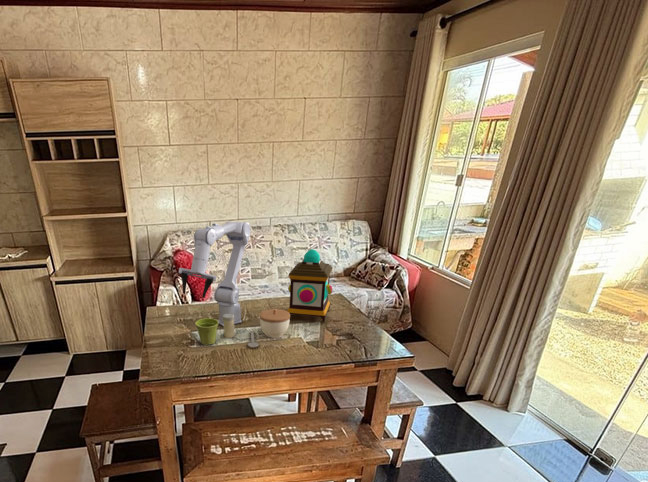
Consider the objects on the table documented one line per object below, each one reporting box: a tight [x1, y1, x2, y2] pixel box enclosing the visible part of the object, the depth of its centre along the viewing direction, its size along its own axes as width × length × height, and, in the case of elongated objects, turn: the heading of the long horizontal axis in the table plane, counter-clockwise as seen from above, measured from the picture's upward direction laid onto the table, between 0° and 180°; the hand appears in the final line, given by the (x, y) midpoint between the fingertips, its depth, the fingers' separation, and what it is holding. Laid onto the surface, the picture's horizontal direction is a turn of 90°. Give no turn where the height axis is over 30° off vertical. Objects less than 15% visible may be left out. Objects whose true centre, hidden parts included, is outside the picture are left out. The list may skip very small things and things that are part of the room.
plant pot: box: [194, 317, 219, 346], centre depth 165 cm, size 9×9×9 cm
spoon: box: [247, 331, 260, 349], centre depth 167 cm, size 15×4×1 cm, turn 179°
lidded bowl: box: [259, 308, 291, 339], centre depth 169 cm, size 13×13×11 cm
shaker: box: [223, 314, 236, 339], centre depth 170 cm, size 5×5×9 cm
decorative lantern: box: [286, 248, 334, 324], centre depth 183 cm, size 20×20×30 cm
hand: (193, 295), depth 158 cm, fingers open, 7 cm apart
